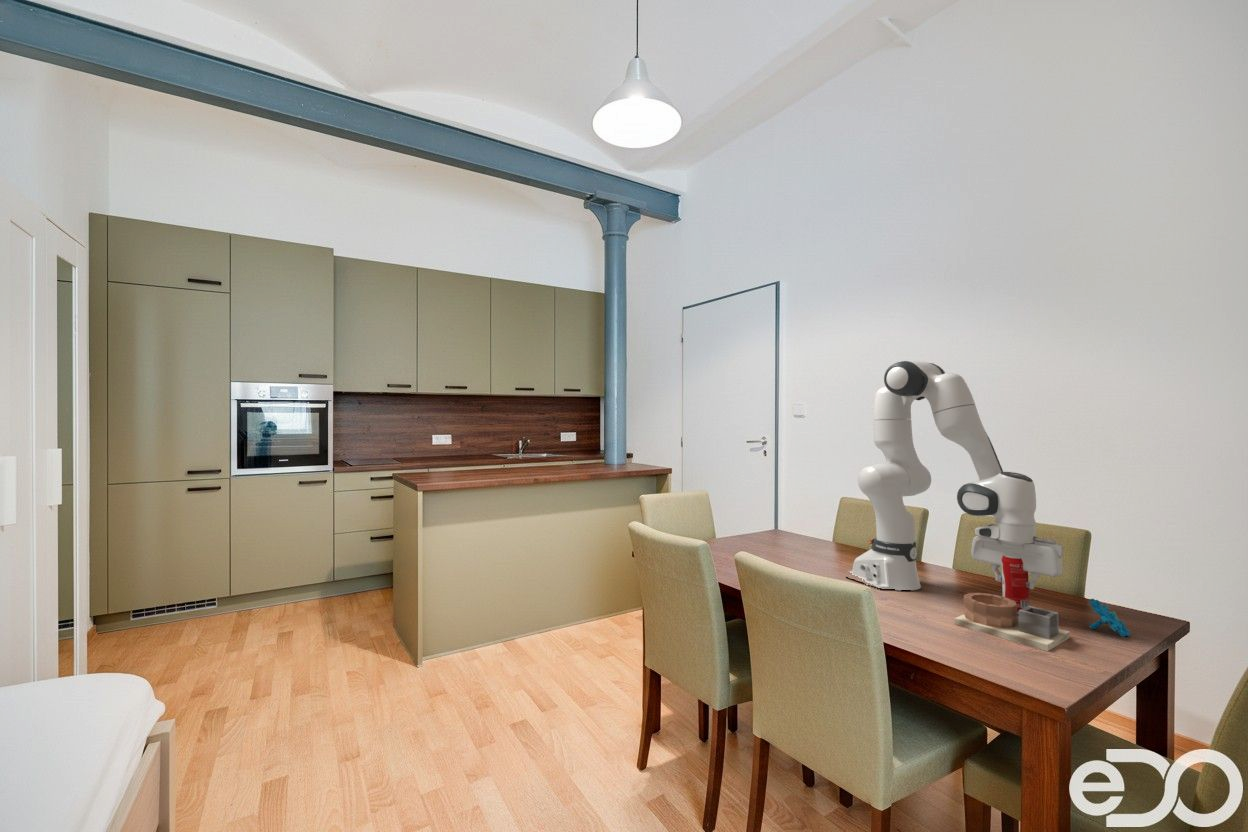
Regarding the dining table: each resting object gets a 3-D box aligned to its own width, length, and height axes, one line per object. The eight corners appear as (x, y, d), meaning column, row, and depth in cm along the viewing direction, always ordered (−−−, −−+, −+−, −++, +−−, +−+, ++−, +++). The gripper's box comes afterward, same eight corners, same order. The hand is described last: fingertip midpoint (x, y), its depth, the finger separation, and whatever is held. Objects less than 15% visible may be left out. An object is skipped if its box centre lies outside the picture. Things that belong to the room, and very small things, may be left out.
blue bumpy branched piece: (1127, 636, 127) (1089, 598, 134) (1103, 649, 130) (1067, 611, 137) (1138, 632, 134) (1101, 595, 140) (1115, 643, 137) (1080, 607, 143)
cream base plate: (954, 624, 140) (954, 598, 140) (978, 613, 147) (978, 589, 148) (1047, 651, 123) (1047, 622, 123) (1069, 637, 131) (1069, 610, 131)
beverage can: (1033, 611, 145) (1033, 555, 144) (1022, 616, 141) (1023, 559, 141) (1007, 604, 149) (1008, 550, 149) (997, 609, 146) (997, 553, 146)
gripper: (1067, 539, 138) (1066, 593, 138) (979, 525, 155) (978, 573, 155) (1057, 543, 135) (1057, 598, 135) (968, 527, 152) (968, 576, 152)
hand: (1014, 584), depth 145 cm, fingers closed on beverage can, 6 cm apart
